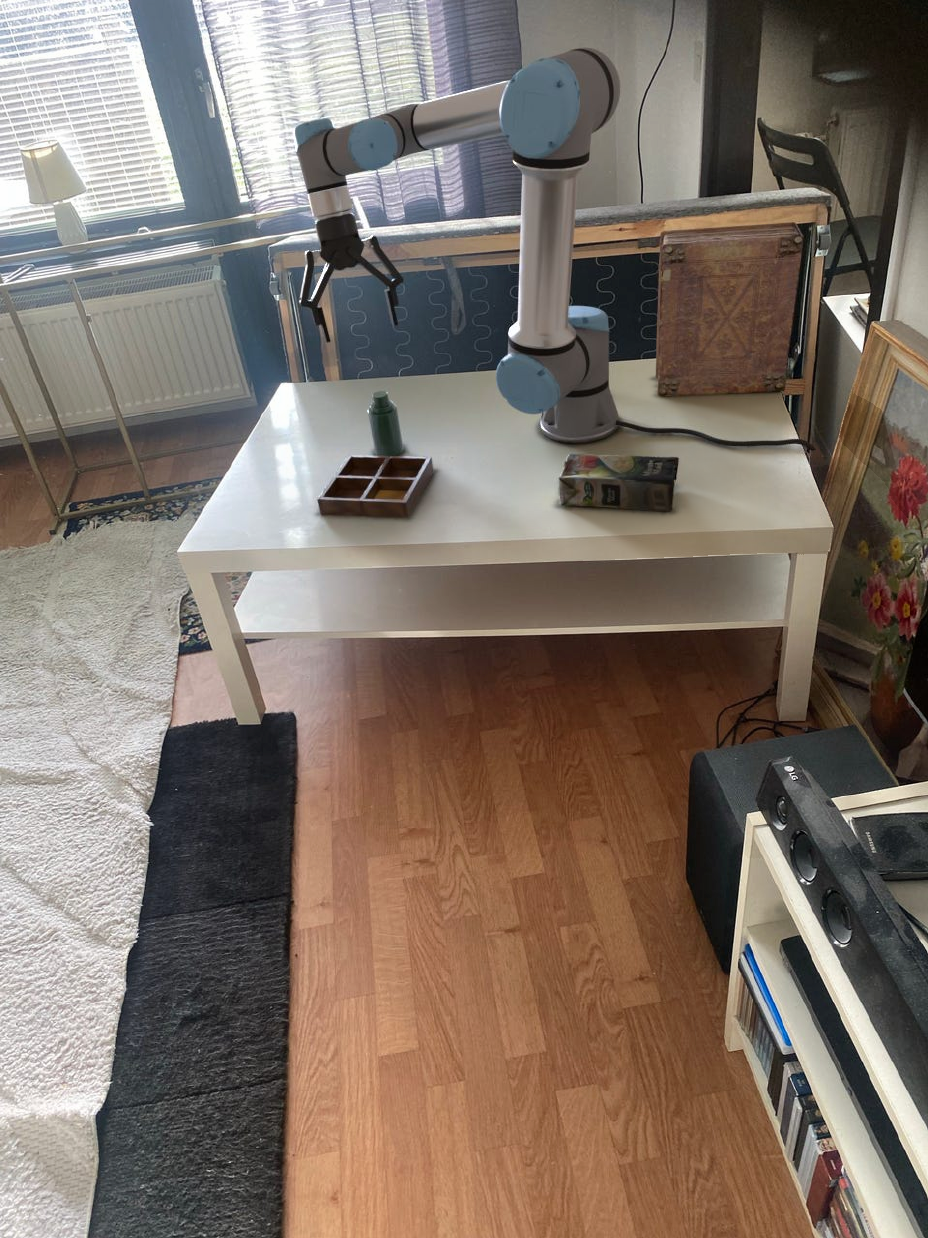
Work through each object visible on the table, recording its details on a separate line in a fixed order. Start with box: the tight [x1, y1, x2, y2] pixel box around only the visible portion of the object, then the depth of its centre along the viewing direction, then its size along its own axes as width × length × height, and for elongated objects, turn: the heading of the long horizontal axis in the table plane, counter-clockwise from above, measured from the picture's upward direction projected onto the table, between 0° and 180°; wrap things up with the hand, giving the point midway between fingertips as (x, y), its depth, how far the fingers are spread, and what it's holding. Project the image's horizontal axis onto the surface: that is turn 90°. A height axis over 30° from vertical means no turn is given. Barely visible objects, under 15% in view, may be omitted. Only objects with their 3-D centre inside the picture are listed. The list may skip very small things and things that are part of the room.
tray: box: [316, 454, 434, 519], centre depth 165 cm, size 17×17×3 cm
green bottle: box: [367, 390, 404, 456], centre depth 175 cm, size 6×6×12 cm
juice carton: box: [557, 453, 680, 513], centre depth 155 cm, size 20×10×6 cm, turn 74°
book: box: [655, 221, 804, 397], centre depth 179 cm, size 25×9×30 cm, turn 81°
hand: (361, 333), depth 176 cm, fingers open, 13 cm apart
